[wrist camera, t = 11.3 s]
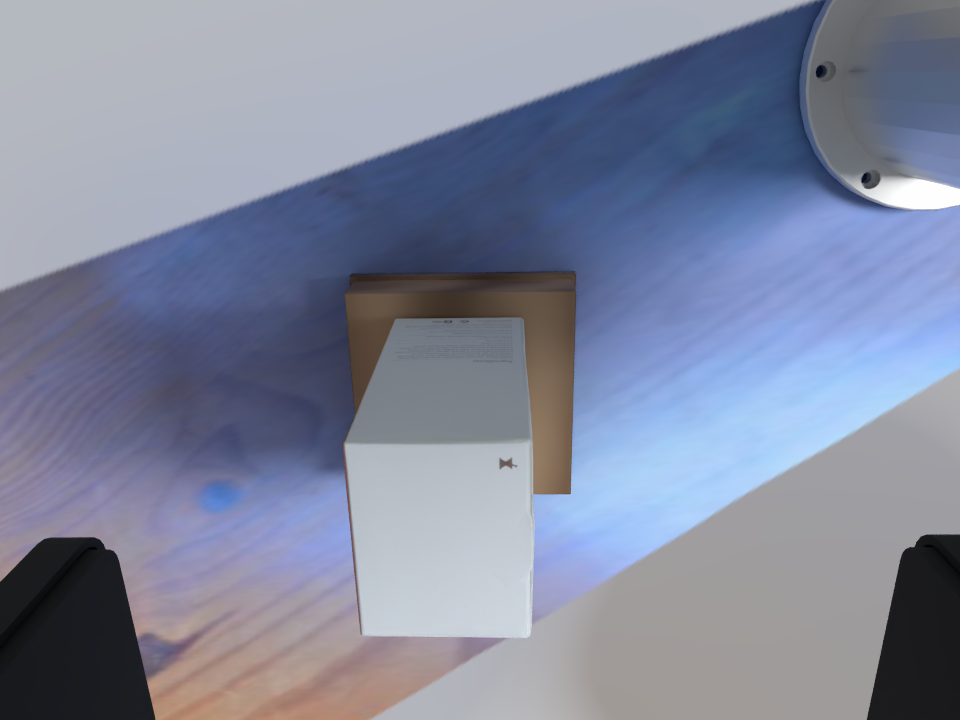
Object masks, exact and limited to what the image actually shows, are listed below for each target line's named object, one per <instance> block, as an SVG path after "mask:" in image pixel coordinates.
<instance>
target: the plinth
mask: <svg viewBox="0 0 960 720" xmlns="http://www.w3.org/2000/svg"><path fill="white" fill-rule="evenodd" d="M575 284H576V274H575V272H495V273H412V274H352V275H351V276H350V287H349V289H348V290H347V291H346V293H345V304H346V315H347V327H348V339H349V350H350V362H351V374H352V385H353V397H354V409H355V415H356V412H357V410H358V408H359V405H360V403H361V400H362V398H363V395H364V393H365V391H366V388H367V386H368V383H369V381H370V378H371V376H372V373H373V371H374V369H375V366H376V364H377V362H378V359H379V357H380V354H381V352H382V350H383V347H384V345H385V342H386V339H387V337H388V335H389V332H390V330H391V327H392V325H393V323H394V321H395V319H420V318H426V319H431V318H502V317H508V318H510V317H521V318H523V320H524V336H525V357H526V368H527V377H528V388H529V399H530V412H531V425H532V440H533V494H571V460H572V424H573V387H574V351H575V314H576V290H575Z"/></svg>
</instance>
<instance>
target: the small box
mask: <svg viewBox="0 0 960 720" xmlns="http://www.w3.org/2000/svg"><path fill="white" fill-rule="evenodd" d="M343 456H344V468H345V478H346V489H347V499H348V510H349V520H350V530H351V540H352V552H353V562H354V573H355V581H356V592H357V602H358V612H359V622H360V632H361V635H363V636H412V637H496V638H528V637H529V636H530V634H531V627H532V594H533V559H534V525H535V524H534V509H533V440H532V425H531V412H530V399H529V388H528V377H527V368H526V357H525V336H524V320H523V318H521V317H510V318H508V317H502V318H431V319H426V318H420V319H395V321H394V323H393V325H392V327H391V330H390V332H389V335H388V337H387V339H386V342H385V345H384V347H383V350H382V352H381V354H380V357H379V359H378V362H377V364H376V366H375V369H374V371H373V373H372V376H371V378H370V381H369V383H368V386H367V388H366V391H365V393H364V395H363V398H362V400H361V403H360V405H359V408H358V410H357V412H356V415H355V417H354V420H353V422H352V424H351V427H350V429H349V431H348V434H347V436H346V438H345V441H344V443H343Z"/></svg>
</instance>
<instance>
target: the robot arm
mask: <svg viewBox="0 0 960 720" xmlns="http://www.w3.org/2000/svg"><path fill="white" fill-rule="evenodd" d="M818 66H821V67H822V68H823V73H822V75H821V76H820V77H817V76H816V69H817V67H818ZM799 80H800V109H801V114H802V119H803V124H804V128H805V132H806V135H807V137H808V139H809V141H810V144H811V146H812V148H813V151H814V153H815V155H816V156H817V157H818V159H819V160H820V162H821V163H822V164H823V166H824V167H825V168H826V170H827V171H828V173H829V174H830V175H832V176H833V177H834V178H835V179H836V180H837V181H838V182H840V183H841V184H842V185H843V186H844V187H845V188H846V189H848V190H850V191H852V192H854V193H856V194H857V195H859V196H861V197H863V198H865V199H867V200H869V201H872V202H875V203H878V204H881V205H884V206H886V207H892V208H897V209H903V210H908V211H937V210H942V209H947V208H952V207H957V206H960V0H826V1H825V3H824V5H823V7H822V9H821V11H820V12H819V14H818V16H817V18H816V20H815V22H814V24H813V27H812V30H811V33H810V36H809V38H808V41H807V44H806V47H805V50H804V55H803V61H802V67H801V73H800V79H799ZM865 173H867V178H866V180H865V181H864V182H861V179H862V176H863V174H865ZM0 720H155V715H154V711H153V706H152V702H151V698H150V693H149V689H148V685H147V680H146V676H145V672H144V667H143V663H142V659H141V654H140V650H139V646H138V641H137V637H136V633H135V628H134V624H133V620H132V615H131V611H130V607H129V602H128V598H127V594H126V589H125V585H124V581H123V576H122V572H121V568H120V563H119V560H118V557H117V555H116V553H115V552H114V551H112V550H106V549H105V547H104V544H103V543H102V542H101V541H100V540H99V539H97V538H94V537H78V538H47V539H44V540H42V541H41V542H40V543H38V544H37V545H36V546H35V547H34V548H33V549H32V550H31V551H30V552H29V553H28V554H27V555H26V556H25V557H24V558H23V559H22V560H21V561H20V562H19V563H18V564H17V565H16V566H15V568H14V569H13V570H12V571H11V572H10V573H9V574H8V575H7V576H6V577H5V578H4V579H3V580H2V581H1V582H0ZM867 720H960V535H924V536H922V537H920V539H919V540H918V541H917V542H916V545H915V547H910V548H907V549H905V551H904V552H903V554H902V556H901V560H900V564H899V569H898V574H897V578H896V583H895V588H894V593H893V597H892V602H891V607H890V612H889V617H888V621H887V626H886V631H885V636H884V640H883V645H882V650H881V655H880V660H879V664H878V669H877V674H876V679H875V683H874V688H873V693H872V698H871V703H870V707H869V712H868V717H867Z"/></svg>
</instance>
